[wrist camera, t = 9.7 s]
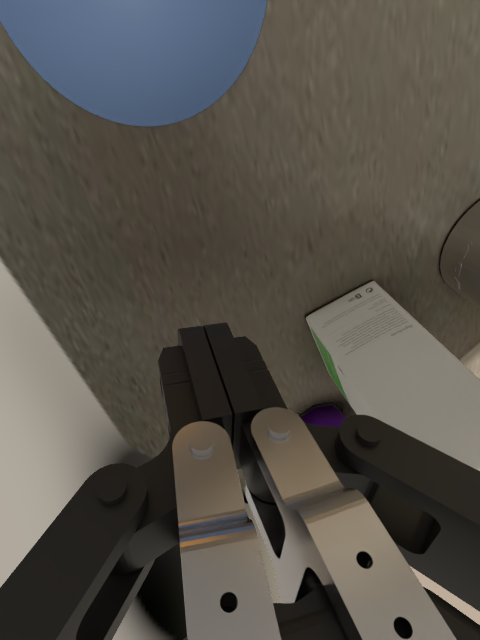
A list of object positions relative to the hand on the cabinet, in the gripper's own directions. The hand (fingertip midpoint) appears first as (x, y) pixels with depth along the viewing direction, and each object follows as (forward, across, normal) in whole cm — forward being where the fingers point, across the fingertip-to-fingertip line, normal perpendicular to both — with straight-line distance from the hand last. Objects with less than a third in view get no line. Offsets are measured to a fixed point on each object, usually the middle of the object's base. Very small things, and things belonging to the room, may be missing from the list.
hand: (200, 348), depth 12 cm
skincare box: (+14, -16, +12) cm, 24 cm away
